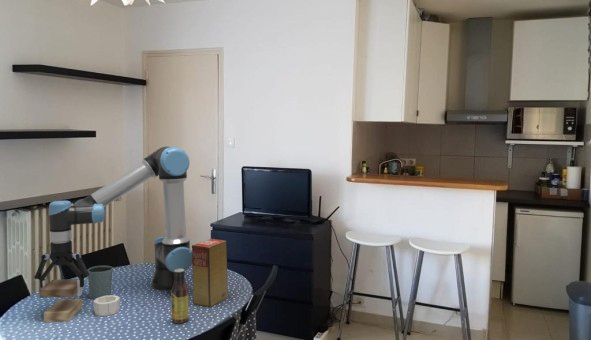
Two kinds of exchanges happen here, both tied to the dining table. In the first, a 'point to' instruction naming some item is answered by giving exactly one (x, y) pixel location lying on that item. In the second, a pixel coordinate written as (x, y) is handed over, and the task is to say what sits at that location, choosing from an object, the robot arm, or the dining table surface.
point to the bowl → (106, 305)
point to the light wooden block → (63, 310)
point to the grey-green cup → (100, 281)
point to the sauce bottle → (179, 297)
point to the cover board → (59, 288)
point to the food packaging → (209, 272)
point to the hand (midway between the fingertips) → (62, 295)
